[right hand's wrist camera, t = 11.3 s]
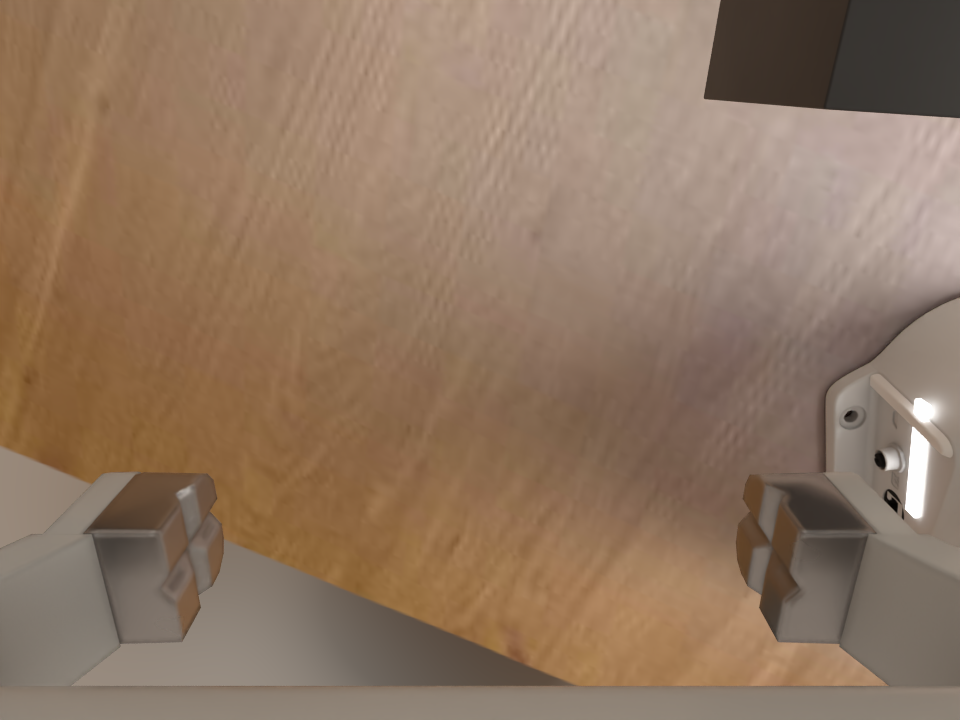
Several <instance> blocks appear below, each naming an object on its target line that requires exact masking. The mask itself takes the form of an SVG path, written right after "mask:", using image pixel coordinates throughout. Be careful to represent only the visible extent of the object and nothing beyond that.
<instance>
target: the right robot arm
mask: <svg viewBox="0 0 960 720" xmlns="http://www.w3.org/2000/svg"><path fill="white" fill-rule="evenodd" d="M825 404H826V472H825V473H789V474H755V475H750V476H749V478H748V480H747V482H746V484H745V489H744V495H743V500H744V502H745V503H746V505H747V506H748V508H749V510H750V512H749V513H748V515H747V516H746V517H745V518H744V519H743V520H742V521H741V522H740V523H739V524H738V531H737V539H736V549H737V560H738V564H739V567H740V571H741V574H742V576H743V578H744V580H745V582H746V584H747V586H748V587H750V588H751V589H753V590H755V591H756V592H758V593H759V594H761V595H762V596H761V601H760V607H759V608H760V610H761V612H762V614H763V615H764V617H765V619H766V621H767V623H768V625H769V626H770V628H771V630H772V632H773V634H774V636H775V637H776V639H777V641H778V642H794V643H830V644H840V646H839V647H841V648H842V649H843V650H844V651H846V652H847V653H848V654H850V655H851V656H852V657H853V658H855V659H856V660H857V661H858V662H860V663H861V664H862V665H864V666H865V667H866V668H867V669H869V670H870V671H871V672H872V673H874V674H875V675H876V676H878V677H879V678H880V679H881V680H883V681H884V682H885V683H886V684H888V685H889V686H71V685H72V684H74V683H75V682H76V681H78V680H79V679H80V678H81V677H83V676H84V675H85V674H87V673H88V672H89V671H90V670H92V669H93V668H94V667H95V666H97V665H98V664H99V663H100V662H102V661H103V660H104V659H106V658H107V657H108V656H109V655H111V654H112V653H113V652H114V651H116V650H117V649H118V648H120V644H129V643H164V642H182V641H183V639H184V637H185V636H186V634H187V632H188V630H189V628H190V626H191V625H192V623H193V621H194V619H195V617H196V615H197V614H198V612H199V610H200V608H201V607H200V601H199V596H198V595H199V594H201V593H202V592H204V591H206V590H207V589H209V588H210V587H212V585H213V584H214V582H215V580H216V578H217V576H218V574H219V571H220V567H221V562H222V558H223V554H224V536H223V530H222V524H221V523H220V522H219V521H218V520H217V519H216V518H215V517H214V516H213V515H212V513H211V512H210V510H211V508H212V506H213V505H214V503H215V502H216V500H217V495H216V490H215V486H214V481H213V479H212V478H211V477H210V476H209V475H208V474H206V473H154V472H143V473H140V472H110V473H105V474H102V475H101V476H100V477H99V478H98V479H97V480H96V481H95V482H94V483H93V484H92V485H91V486H90V487H89V488H88V489H87V490H86V491H85V492H84V493H83V494H82V495H81V496H80V497H79V498H78V499H77V500H76V501H75V502H74V503H73V504H72V505H71V506H70V507H69V508H68V509H67V510H66V511H65V512H64V513H63V514H62V515H61V516H60V517H59V518H58V519H57V520H56V521H55V522H54V523H53V524H52V525H51V526H50V527H49V528H48V529H47V530H46V531H45V532H44V533H43V534H31V535H29V536H27V537H24V538H22V539H20V540H18V541H15V542H13V543H11V544H9V545H6V546H4V547H2V548H0V720H960V297H959V298H956V299H954V300H951V301H949V302H947V303H944V304H942V305H940V306H938V307H936V308H934V309H933V310H931V311H929V312H927V313H926V314H924V315H923V316H921V317H920V318H918V319H917V320H916V321H914V322H913V323H912V324H910V325H909V326H908V327H907V328H905V329H904V330H903V331H902V332H901V333H900V334H899V335H898V336H897V337H896V338H895V339H894V340H893V341H892V342H891V343H890V344H889V345H888V346H887V347H886V348H885V349H884V350H883V351H882V352H881V353H880V354H879V355H878V356H877V357H876V358H875V359H873V360H872V361H871V362H870V363H868V364H866V365H864V366H862V367H860V368H858V369H856V370H854V371H852V372H851V373H849V374H847V375H845V376H844V377H842V378H840V379H839V380H838V381H836V382H835V383H834V384H833V385H832V386H831V387H830V388H829V390H828V392H827V394H826V403H825ZM851 410H852V413H851V414H850V415H849V416H848V417H844V416H845V414H846V413H847V412H848V411H851Z"/></svg>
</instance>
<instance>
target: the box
mask: <svg viewBox="0 0 960 720" xmlns="http://www.w3.org/2000/svg"><path fill="white" fill-rule="evenodd" d="M704 99H710V100H722V101H734V102H746V103H758V104H770V105H781V106H793V107H805V108H817V109H830V110H845V111H860V112H875V113H890V114H906V115H921V116H936V117H951V118H960V0H721V2H720V8H719V13H718V19H717V25H716V31H715V36H714V42H713V48H712V54H711V59H710V65H709V71H708V77H707V82H706V88H705V94H704Z"/></svg>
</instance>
